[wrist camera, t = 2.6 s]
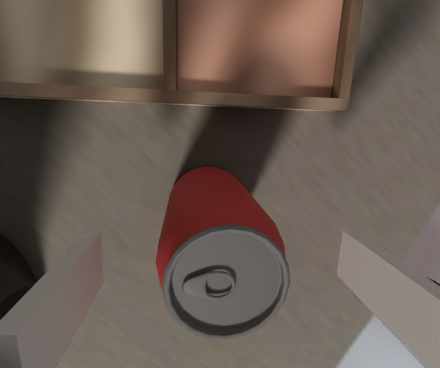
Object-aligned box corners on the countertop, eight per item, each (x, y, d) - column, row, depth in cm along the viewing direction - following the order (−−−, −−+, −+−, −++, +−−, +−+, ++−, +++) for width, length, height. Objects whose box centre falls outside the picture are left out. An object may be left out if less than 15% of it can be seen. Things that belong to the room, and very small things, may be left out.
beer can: (168, 164, 22) (146, 215, 10) (247, 165, 23) (309, 213, 11) (169, 238, 23) (151, 356, 12) (243, 236, 24) (294, 345, 12)
